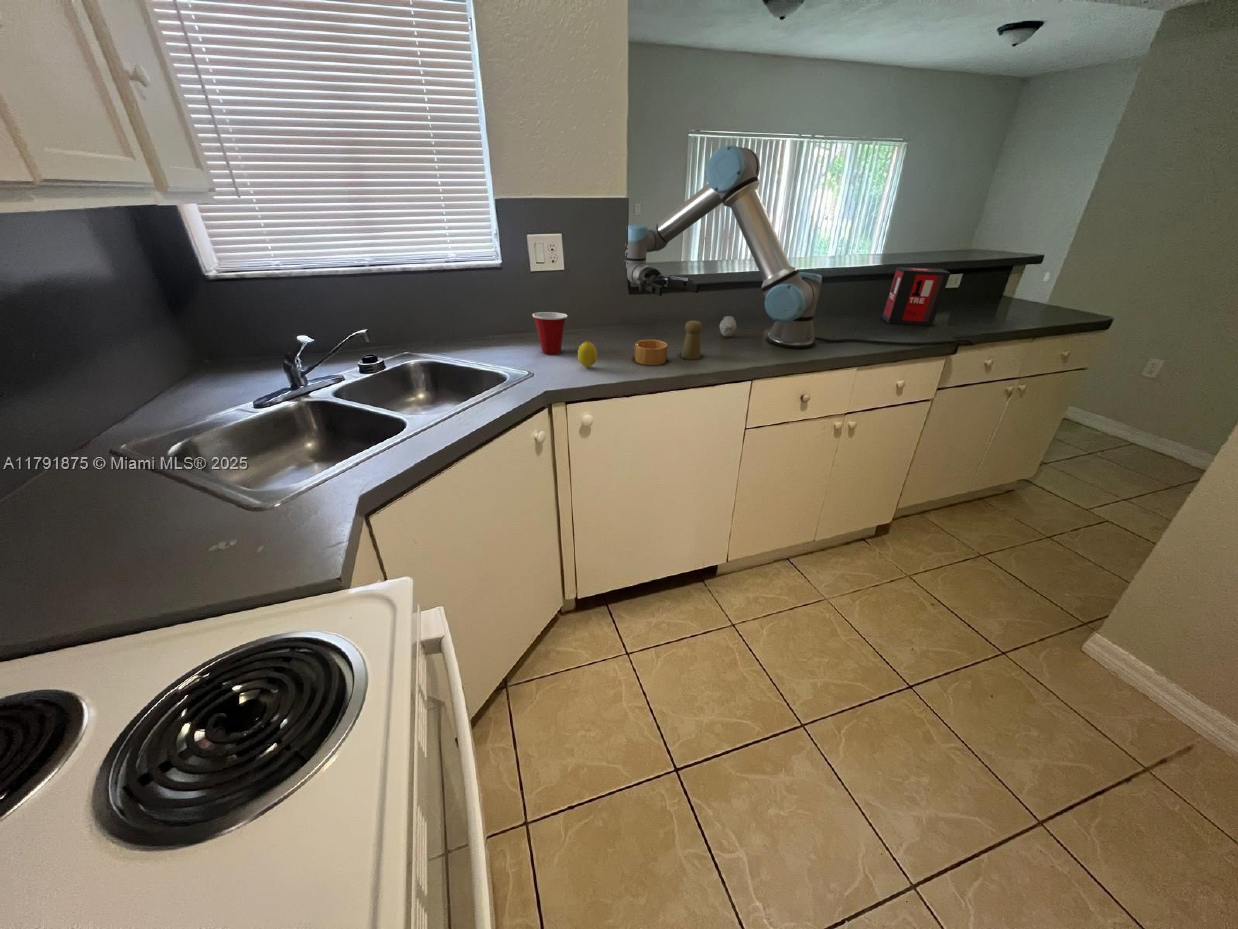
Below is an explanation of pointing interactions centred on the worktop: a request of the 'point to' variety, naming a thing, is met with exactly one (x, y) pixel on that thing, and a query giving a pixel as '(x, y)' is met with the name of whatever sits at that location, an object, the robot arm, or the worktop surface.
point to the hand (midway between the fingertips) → (679, 290)
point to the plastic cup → (550, 330)
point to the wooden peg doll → (692, 340)
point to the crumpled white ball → (728, 326)
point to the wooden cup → (650, 352)
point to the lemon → (587, 354)
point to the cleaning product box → (915, 295)
